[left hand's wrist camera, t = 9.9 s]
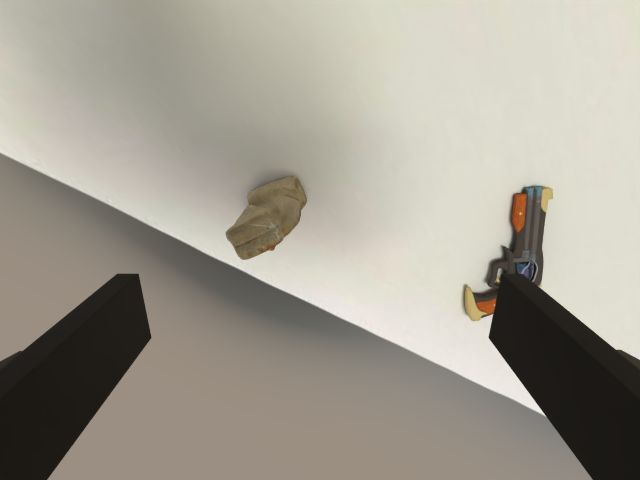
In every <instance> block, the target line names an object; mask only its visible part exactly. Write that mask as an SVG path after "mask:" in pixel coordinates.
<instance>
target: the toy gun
mask: <svg viewBox="0 0 640 480" xmlns="http://www.w3.org/2000/svg"><path fill="white" fill-rule="evenodd" d="M548 199H553V191H552V189H551V188H549V187H544V188H543V187H542V186H535V187H534V188H533V187H528V188H526V190H524V193H521V194H516V195H515V197H514V204H513V213H512V223H513V226H514V228H515V231H516V240H515V246H514V249H513V251H512V252H511V251H510V250H509V249H508V248H506V247H504V250H505V254H506V260H504V261H496V262H495V263H493V265H492V272H491V276H490V278H489V281H488V283H487V284H488V286H489V287H494V288H497V289H499V285H496V284H494V282H495V280H496V281H497V282H498V283H500V282H499V281H500V280H499V279H498V276H497V272H498V269H499V268H503V269H505V274H515V269H516V272H517V274H524V275H525V276H526V277H527V278H528V279H530V278H531V275H532V271H533V267H534V272H533V276H532V278H531V281H532V282H533V283H535V284H536V285H537V286H538V287H541V280H542V273H543V252H542V242H543V232H544V223H545V216H546V211H547V204H548ZM531 260H533V261H534V265H533V264H532V263H530V261H531ZM515 262H517V263H516V265H515ZM496 276H497V277H496ZM497 294H498V290H496V291H494V292H492V293H490V294H487V295H477V294H474V293H472V291H471V288H470V287H467V288H466V291H465V308H466V312H467V314H468V316H469V318H470V319H471V320H472V321H479V320H480V318H483V317H486V316H489V315H491V314H493V313H494V309H495V304H496V299H497Z"/></svg>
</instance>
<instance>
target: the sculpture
mask: <svg viewBox="0 0 640 480" xmlns="http://www.w3.org/2000/svg"><path fill="white" fill-rule="evenodd" d="M248 202H249V206H247V208H246V209H245V210H244V212H243V213H242V215H241V216H240V217H239V218H238V220H237V221H236V223H235V224H234V225H233V226H232V227H230V228H229V229H228V230H227V231H226V237H227V239H228V240H229V241H230V242H231V243H232V245H233V247H234V249H235V251H236V253H237V255H238V256H239V257H240V258H241V259H242V260H246V259H250V258H253V257H255V256H257V255H259V254H261V253H263V252H266V251H268V250H270V251H273V250H274V249H275V246H276V245H277V244H279V243H280V242H281V241H282V240H283V238H284V237H285V236H286V235H288V234H289V233H290V232H291V231H292V229H293V228H294V227H295V226H296V225H297V224H298V223H299V221H300V216H301V209H302V208H303V207H304V206H305V204H306V202H307V198H306V195H305V192H304V190H303V188H302V186H301V184H300V182H299V180H298V179H297V178H294V177H293V176H289V177H286V178H284V179H280V180H276V181H273V182H270V183H268V184H265V185H263V186H261V187H258V188H256V189H255V190H253V191H251V192H250V193H249V194H248Z"/></svg>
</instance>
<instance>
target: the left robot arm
mask: <svg viewBox="0 0 640 480" xmlns="http://www.w3.org/2000/svg"><path fill="white" fill-rule="evenodd" d="M150 339H151V334H150V329H149V324H148V319H147V314H146V309H145V304H144V299H143V294H142V289H141V284H140V279H139V274H117V275H115V276H114V277H113V278H112V279H110V280H109V281H108V282H107V283H105V284H104V285H103V286H102V287H101V288H99V289H98V290H97V291H96V292H94V293H93V294H92V295H91V296H90V297H88V298H87V299H86V300H85V301H83V302H82V303H81V304H80V305H79V306H77V307H76V308H75V309H74V310H72V311H71V312H70V313H69V314H67V315H66V316H65V317H64V318H63V319H61V320H60V321H59V322H58V323H56V324H55V325H54V326H53V327H52V328H50V329H49V330H48V331H47V332H45V333H44V334H43V335H42V336H41V337H39V338H38V339H37V340H36V341H35V342H33V343H32V344H31V345H30V346H28V347H27V348H26V349H25V350H24V351H19V352H17V353H15V354H13V355H12V356H10V357H8V358H6V359H4V360H2V361H0V480H47V479H48V478H49V476H50V475H51V474H52V472H53V471H54V470H55V468H56V467H57V465H58V464H59V463H60V461H61V460H62V459H63V457H64V456H65V455H66V453H67V452H68V451H69V449H70V448H71V446H72V445H73V444H74V442H75V441H76V440H77V438H78V437H79V435H80V434H81V433H82V431H83V430H84V429H85V427H86V426H87V425H88V423H89V422H90V420H91V419H92V418H93V416H94V415H95V414H96V412H97V411H98V410H99V408H100V407H101V406H102V404H103V403H104V402H105V400H106V399H107V397H108V396H109V395H110V393H111V392H112V391H113V389H114V388H115V387H116V385H117V384H118V382H119V381H120V380H121V378H122V377H123V376H124V374H125V373H126V372H127V370H128V369H129V367H130V366H131V365H132V363H133V362H134V361H135V359H136V358H137V357H138V355H139V354H140V352H141V351H142V350H143V348H144V347H145V346H146V344H147V343H148V342H149V340H150ZM489 339H490V340H491V342H492V343H493V344H494V346H495V347H496V348H497V350H498V351H499V353H500V354H501V355H502V357H503V358H504V359H505V361H506V362H507V363H508V365H509V366H510V367H511V369H512V370H513V372H514V373H515V374H516V376H517V377H518V378H519V380H520V381H521V382H522V384H523V385H524V387H525V388H526V389H527V391H528V392H529V393H530V395H531V396H532V397H533V399H534V400H535V402H536V403H537V404H538V406H539V407H540V408H541V410H542V411H543V412H544V414H545V415H546V416H547V418H548V419H549V420H550V422H551V423H552V425H553V426H554V427H555V429H556V430H557V431H558V433H559V434H560V436H561V437H562V438H563V440H564V441H565V442H566V444H567V445H568V446H569V448H570V449H571V450H572V452H573V453H574V455H575V456H576V457H577V459H578V460H579V461H580V463H581V464H582V465H583V467H584V468H585V469H586V471H587V472H588V474H589V475H590V476H591V478H592V479H593V480H640V360H639V359H637V358H635V357H633V356H631V355H629V354H628V353H626V352H624V351H622V350H615V349H614V348H613V347H612V346H610V345H609V344H608V343H607V342H606V341H604V340H603V339H602V338H601V337H599V336H598V335H597V334H596V333H595V332H593V331H592V330H591V329H590V328H588V327H587V326H586V325H585V324H584V323H582V322H581V321H580V320H579V319H577V318H576V317H575V316H574V315H573V314H571V313H570V312H569V311H568V310H566V309H565V308H564V307H563V306H561V305H560V304H559V303H558V302H557V301H555V300H554V299H553V298H552V297H550V296H549V295H548V294H547V293H546V292H544V291H543V290H542V289H541V288H539V287H538V286H537V285H536V284H535V283H533V282H532V281H531V280H530V279H528V278H527V277H526V276H525V275H524V274H501V279H500V284H499V289H498V294H497V299H496V304H495V309H494V314H493V319H492V324H491V328H490V333H489Z"/></svg>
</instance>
